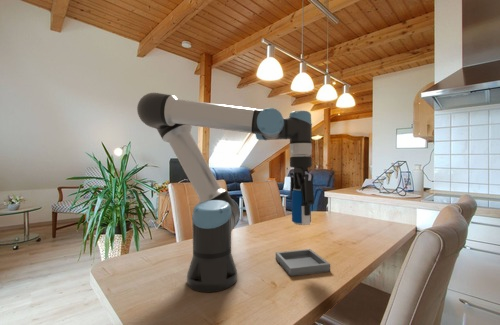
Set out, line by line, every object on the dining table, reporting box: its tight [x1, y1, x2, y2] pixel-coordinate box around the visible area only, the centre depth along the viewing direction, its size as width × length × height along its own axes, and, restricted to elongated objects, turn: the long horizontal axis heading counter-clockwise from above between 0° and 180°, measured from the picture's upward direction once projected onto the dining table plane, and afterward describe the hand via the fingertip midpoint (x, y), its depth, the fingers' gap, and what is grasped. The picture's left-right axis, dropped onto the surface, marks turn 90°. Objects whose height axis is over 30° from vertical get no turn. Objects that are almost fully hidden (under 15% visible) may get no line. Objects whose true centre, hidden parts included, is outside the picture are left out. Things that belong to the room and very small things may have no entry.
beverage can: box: [291, 188, 312, 226], centre depth 84 cm, size 6×6×12 cm
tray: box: [275, 248, 331, 277], centre depth 84 cm, size 14×14×2 cm
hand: (301, 222), depth 84 cm, fingers closed on beverage can, 6 cm apart
